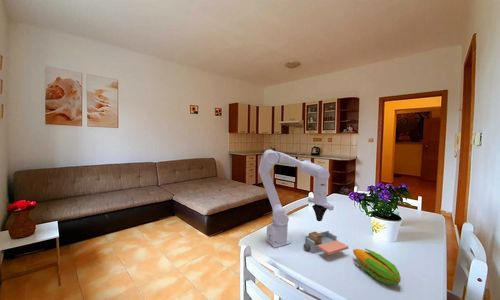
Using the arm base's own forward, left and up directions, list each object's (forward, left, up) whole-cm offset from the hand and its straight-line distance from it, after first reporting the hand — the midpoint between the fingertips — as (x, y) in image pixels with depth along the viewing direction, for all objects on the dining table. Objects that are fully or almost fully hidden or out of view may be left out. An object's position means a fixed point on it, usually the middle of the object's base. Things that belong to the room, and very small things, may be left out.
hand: (319, 220), depth 103 cm
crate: (-7, -5, -7) cm, 11 cm away
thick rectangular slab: (-3, -8, -7) cm, 12 cm away
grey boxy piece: (-3, -5, -10) cm, 12 cm away
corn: (+1, -26, -11) cm, 28 cm away
